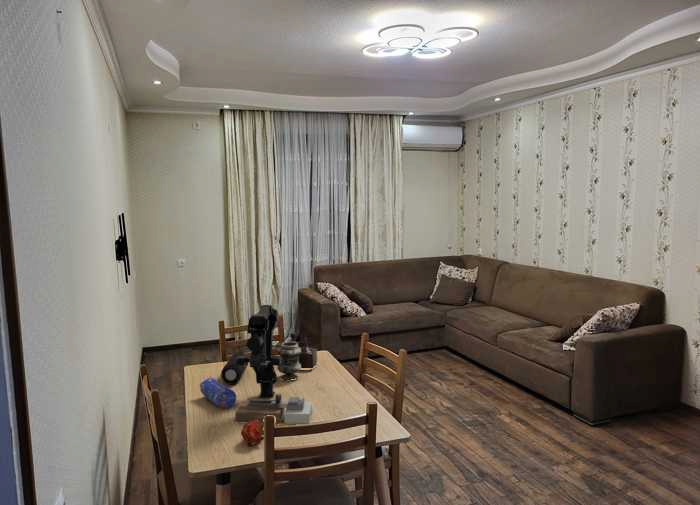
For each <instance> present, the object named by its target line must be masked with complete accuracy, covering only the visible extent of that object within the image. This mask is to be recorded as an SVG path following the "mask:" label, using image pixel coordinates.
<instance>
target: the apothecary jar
mask: <svg viewBox="0 0 700 505" xmlns="http://www.w3.org/2000/svg"><path fill="white" fill-rule="evenodd" d="M296 342H297V341H295V342H293V341H284V342H282V343H281V344H280V347H279V348H278V349H277V355H278V356H281V358H282V362H281V364H280V365H279V366H277V370H278V372H280V373H281V374H282V375H280V376H279V379H280V378H281V379H283V380H291V379H295V378H297V377H298V376H299V375H298V374H297V373H298V372H300V371H301V370H300V369H301V364H300V363H299V354H300V353H301V349H300V348H301V347H299V343H296ZM297 375H298V376H297ZM281 379H280V380H281ZM283 380H282V381H283Z"/></svg>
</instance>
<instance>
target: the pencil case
mask: <svg viewBox="0 0 700 505" xmlns="http://www.w3.org/2000/svg"><path fill="white" fill-rule="evenodd" d="M199 388H200V389H199V390H200V392H201V394H202V395H203V396H204V397H205V398H206V399H207V400H208V401H210V402H211V403H212V404H214V405H215V406H217V407H219V408H220V409H221V410H229V409H230V408H232V407H233V406H235V404H236V403H237V395H236V394H237V393H236V392H235V391H234V390H233V389H231V388H229V387H227V386H225V385H223V384H222V383H219V382H218V380H217V379H216V378H213V377H212V376H210V377H208V378H206V379H205V380H203V381H201V383H200V384H199Z"/></svg>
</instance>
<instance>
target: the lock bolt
mask: <svg viewBox="0 0 700 505" xmlns="http://www.w3.org/2000/svg"><path fill="white" fill-rule="evenodd" d="M274 396H275V397H274V400H275V401H272V402H271V404H279V408H284V409H286V408H287V404H288V401H289V400H287V401H286V400H282V394H281V393H279V394H274ZM298 404H300V401H299V402H298Z"/></svg>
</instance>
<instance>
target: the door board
mask: <svg viewBox="0 0 700 505" xmlns="http://www.w3.org/2000/svg"><path fill="white" fill-rule="evenodd" d="M272 401H275V399H249V401H241V404H240V405H239V406H238V408H237V410H236V411H235V413H234V414H235V419H234V420H235V423H236V422H249V421H254V420H258V421H259V422H261V423H262V422H263V419H264V416H267V415H274V416H275V417H276V423H275V424H280V423H281V421H282V418H283V416H284V414H285V408H279V404H271V402H272ZM262 424H263V423H262Z"/></svg>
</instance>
